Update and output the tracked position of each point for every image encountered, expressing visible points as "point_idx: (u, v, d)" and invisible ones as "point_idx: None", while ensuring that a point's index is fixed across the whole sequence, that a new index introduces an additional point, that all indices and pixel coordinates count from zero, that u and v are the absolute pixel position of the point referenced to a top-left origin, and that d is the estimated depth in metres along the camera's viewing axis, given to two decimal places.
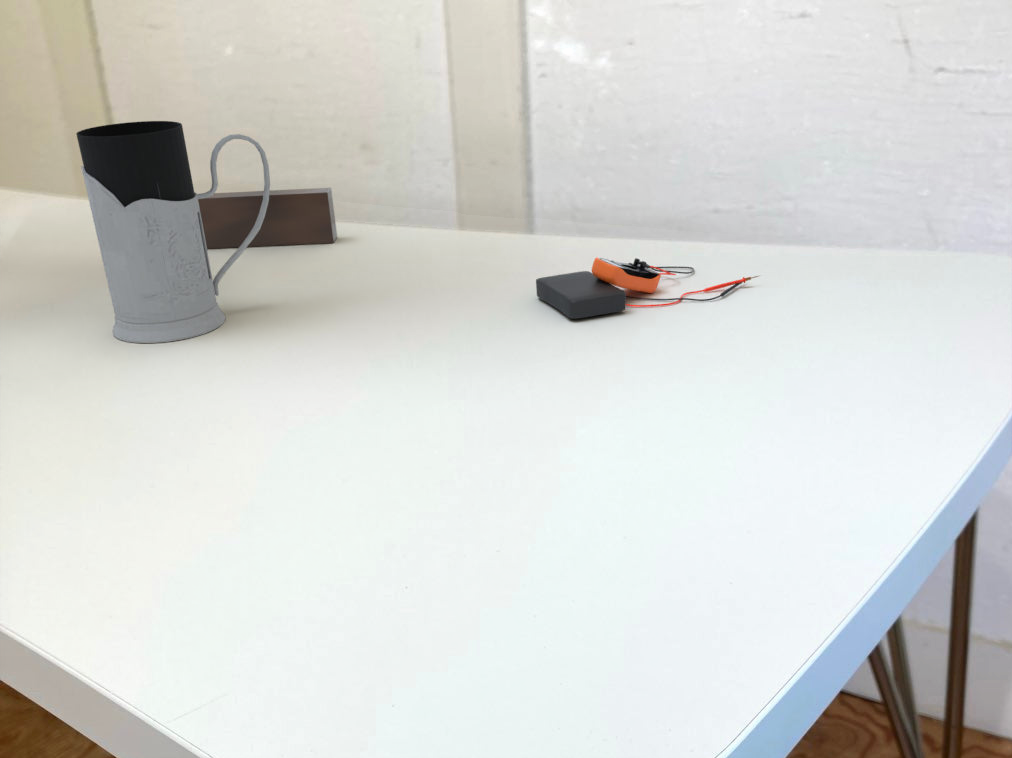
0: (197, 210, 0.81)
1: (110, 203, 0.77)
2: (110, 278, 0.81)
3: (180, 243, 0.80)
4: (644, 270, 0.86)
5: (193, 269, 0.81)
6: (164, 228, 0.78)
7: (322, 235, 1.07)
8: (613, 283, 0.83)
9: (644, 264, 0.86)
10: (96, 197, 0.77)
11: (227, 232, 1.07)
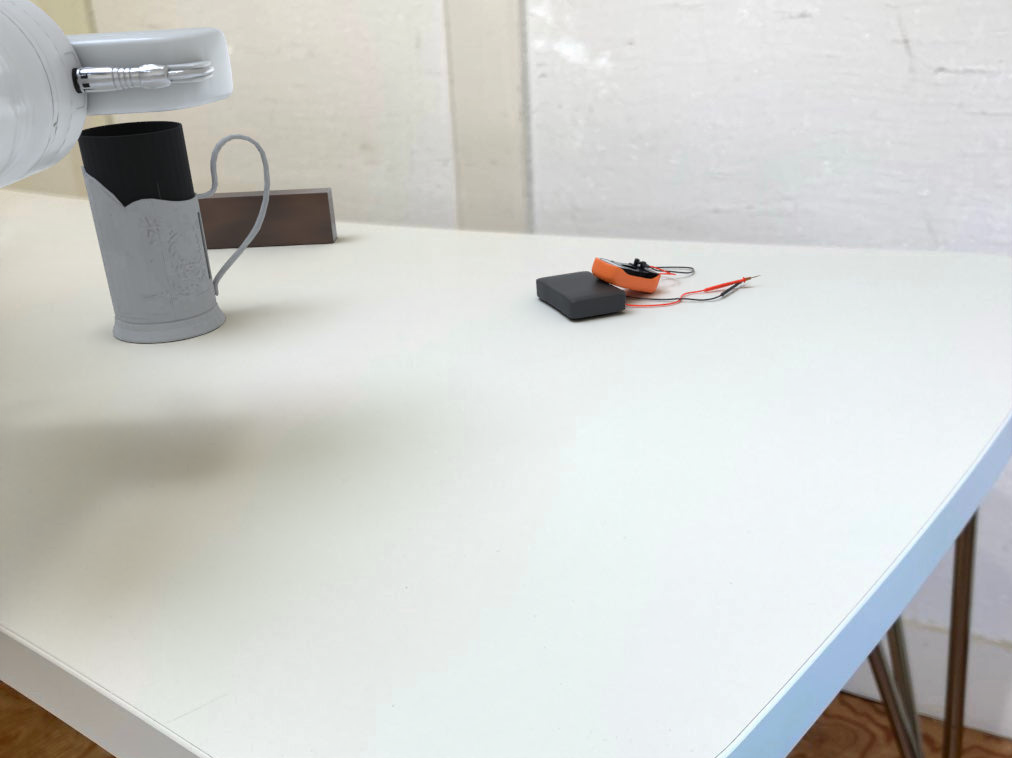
0: (197, 210, 0.81)
1: (110, 203, 0.77)
2: (110, 278, 0.81)
3: (180, 243, 0.80)
4: (644, 270, 0.86)
5: (193, 269, 0.81)
6: (164, 228, 0.78)
7: (322, 235, 1.07)
8: (613, 283, 0.83)
9: (644, 264, 0.86)
10: (96, 197, 0.77)
11: (227, 232, 1.07)
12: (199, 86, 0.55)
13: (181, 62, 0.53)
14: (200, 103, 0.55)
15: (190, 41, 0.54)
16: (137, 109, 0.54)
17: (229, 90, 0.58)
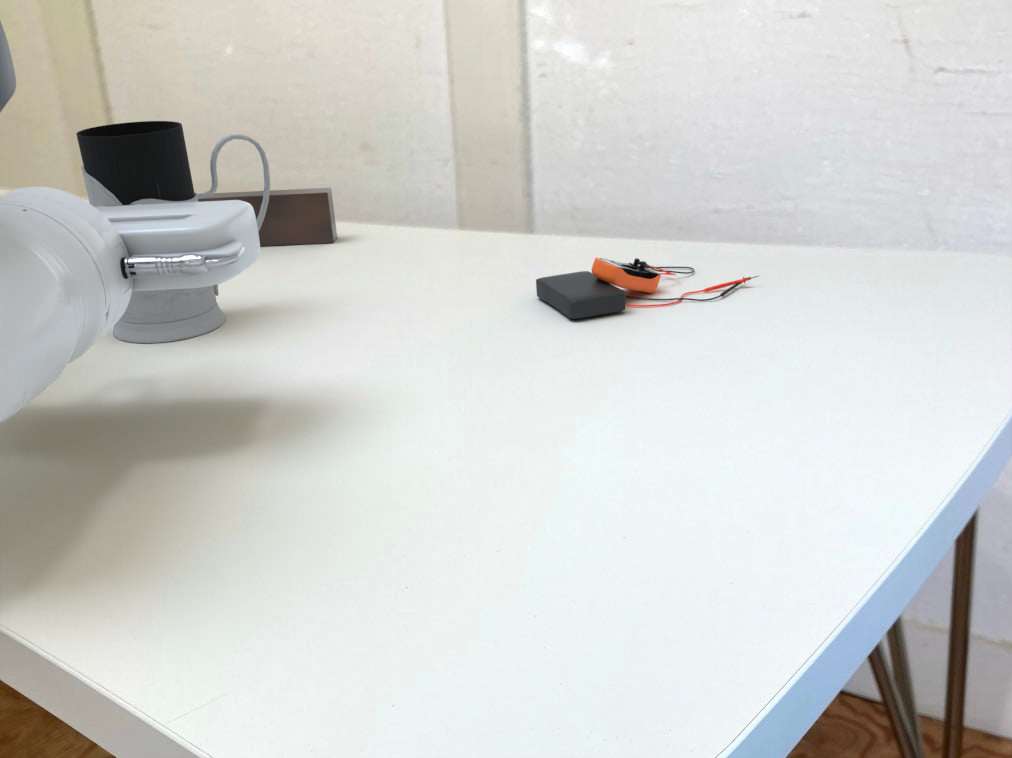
0: None
1: (110, 203, 0.77)
2: None
3: None
4: (644, 270, 0.86)
5: None
6: None
7: (322, 235, 1.07)
8: (613, 283, 0.83)
9: (644, 264, 0.86)
10: (96, 197, 0.77)
11: None
12: None
13: (216, 247, 0.60)
14: (232, 277, 0.62)
15: (224, 227, 0.60)
16: (176, 287, 0.60)
17: (257, 255, 0.65)
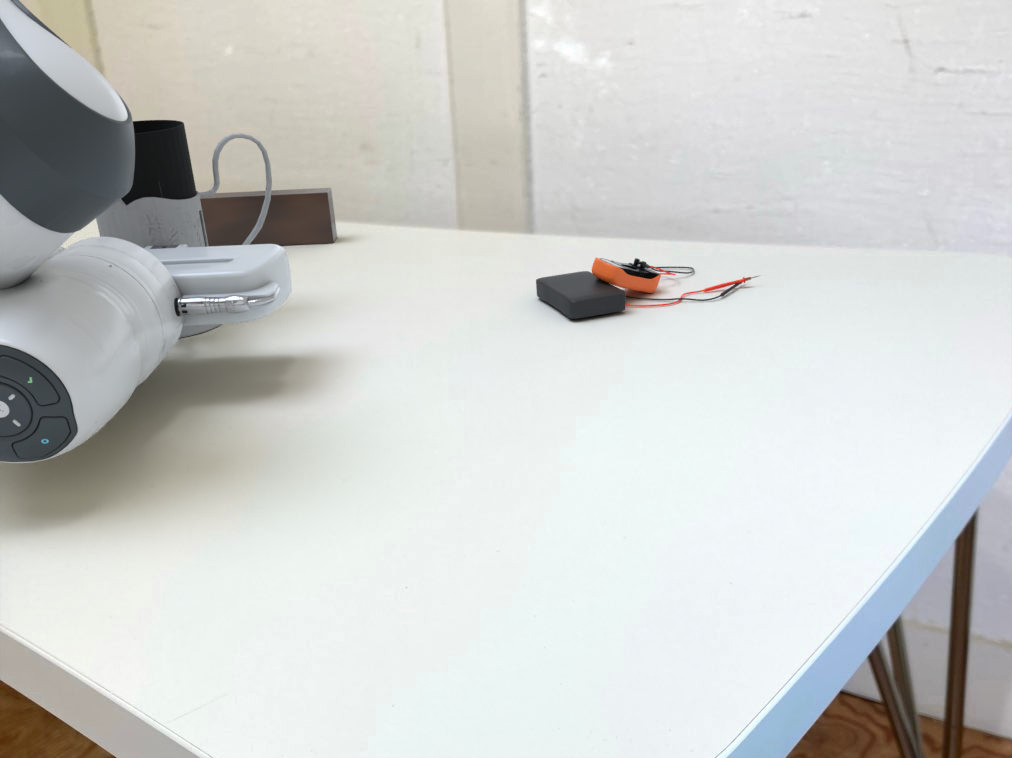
0: (199, 208, 0.81)
1: None
2: None
3: (181, 241, 0.80)
4: (644, 270, 0.86)
5: None
6: (165, 226, 0.79)
7: (322, 235, 1.07)
8: (613, 283, 0.83)
9: (644, 264, 0.86)
10: None
11: (227, 232, 1.07)
12: None
13: (256, 288, 0.69)
14: (269, 313, 0.71)
15: (262, 270, 0.69)
16: (221, 323, 0.69)
17: (289, 293, 0.74)
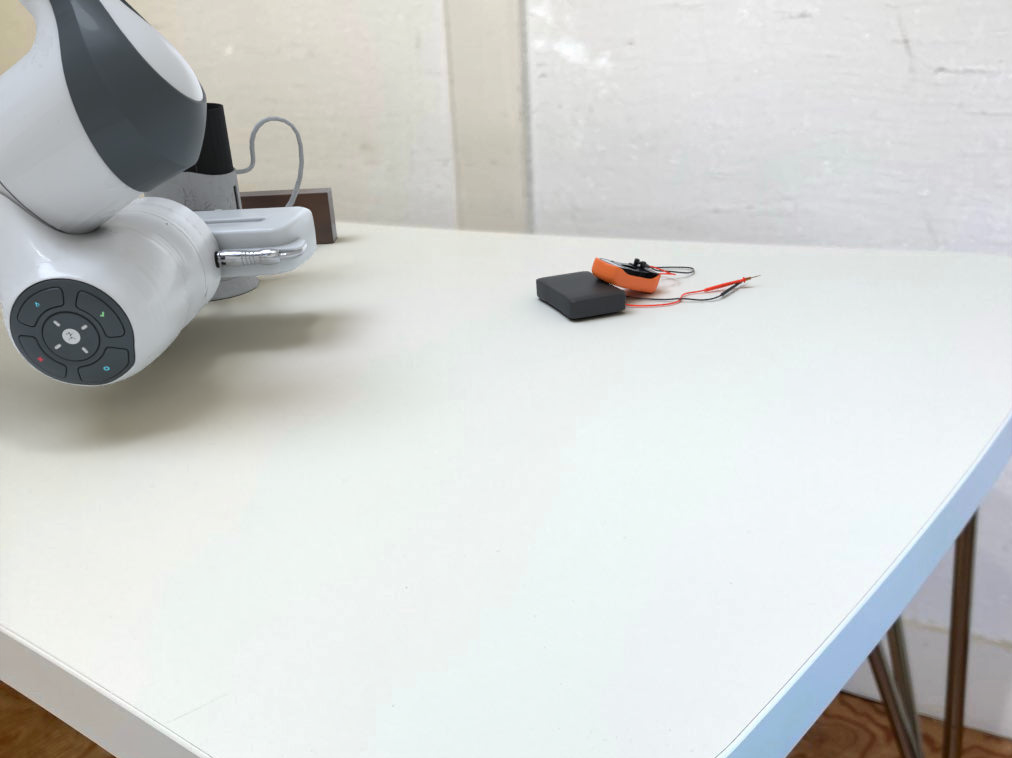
0: (233, 184, 0.90)
1: None
2: None
3: None
4: (644, 270, 0.86)
5: None
6: (199, 199, 0.88)
7: (322, 235, 1.07)
8: (613, 283, 0.83)
9: (644, 264, 0.86)
10: None
11: None
12: None
13: (286, 243, 0.77)
14: (297, 267, 0.79)
15: (292, 228, 0.78)
16: (255, 274, 0.78)
17: (314, 250, 0.83)
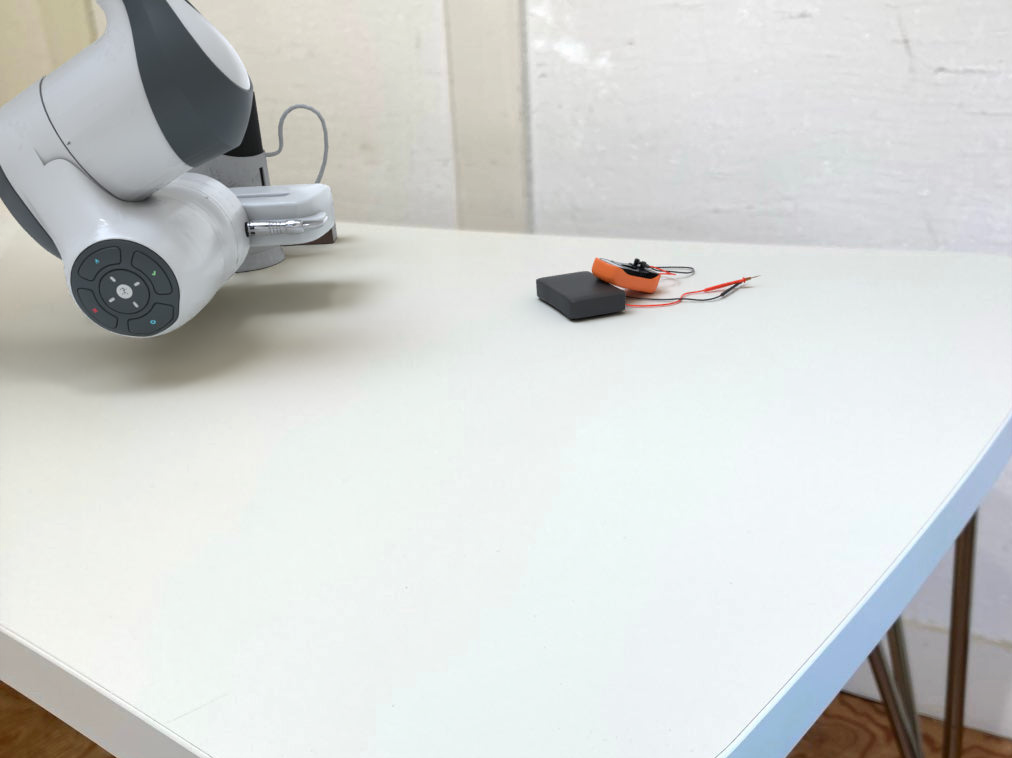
0: (259, 166, 0.97)
1: None
2: None
3: None
4: (644, 270, 0.86)
5: None
6: (225, 178, 0.95)
7: None
8: (613, 283, 0.83)
9: (644, 264, 0.86)
10: None
11: None
12: None
13: (309, 215, 0.85)
14: (318, 237, 0.87)
15: (314, 201, 0.86)
16: (280, 244, 0.86)
17: (333, 223, 0.91)
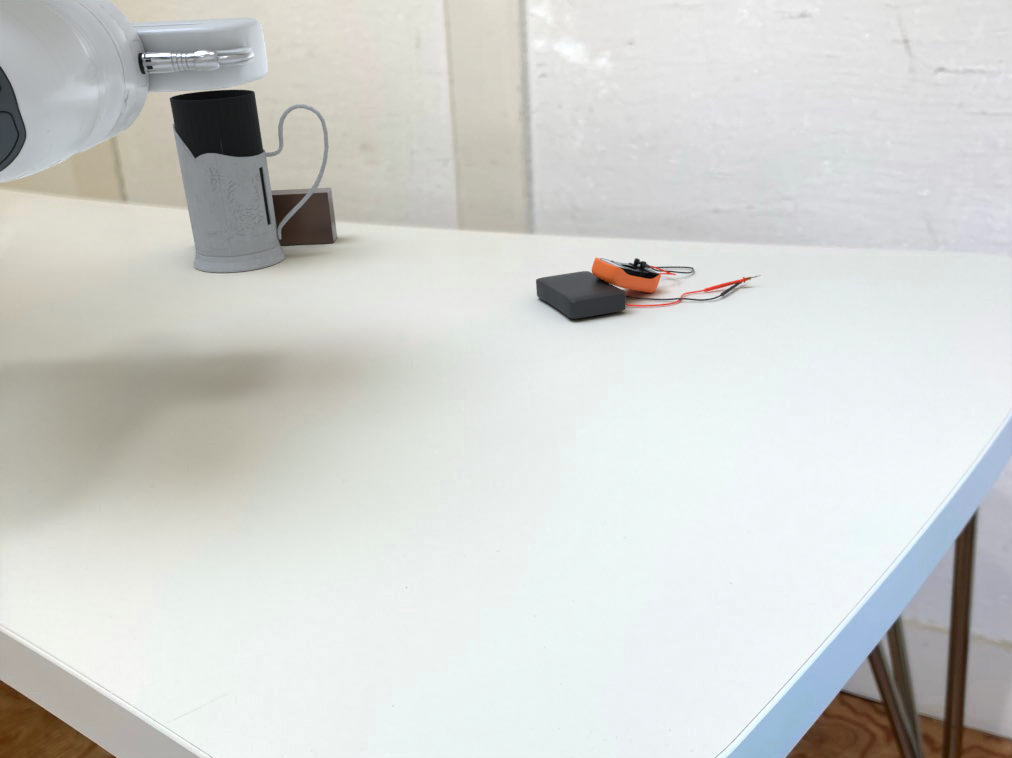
0: (259, 166, 0.97)
1: (186, 154, 0.95)
2: (189, 216, 0.99)
3: (238, 192, 0.96)
4: (644, 270, 0.86)
5: (250, 215, 0.98)
6: (224, 178, 0.95)
7: (322, 235, 1.07)
8: (613, 283, 0.83)
9: (644, 264, 0.86)
10: (178, 149, 0.96)
11: None
12: (241, 69, 0.65)
13: (227, 48, 0.64)
14: (242, 83, 0.66)
15: (234, 30, 0.64)
16: (190, 88, 0.64)
17: (265, 71, 0.69)
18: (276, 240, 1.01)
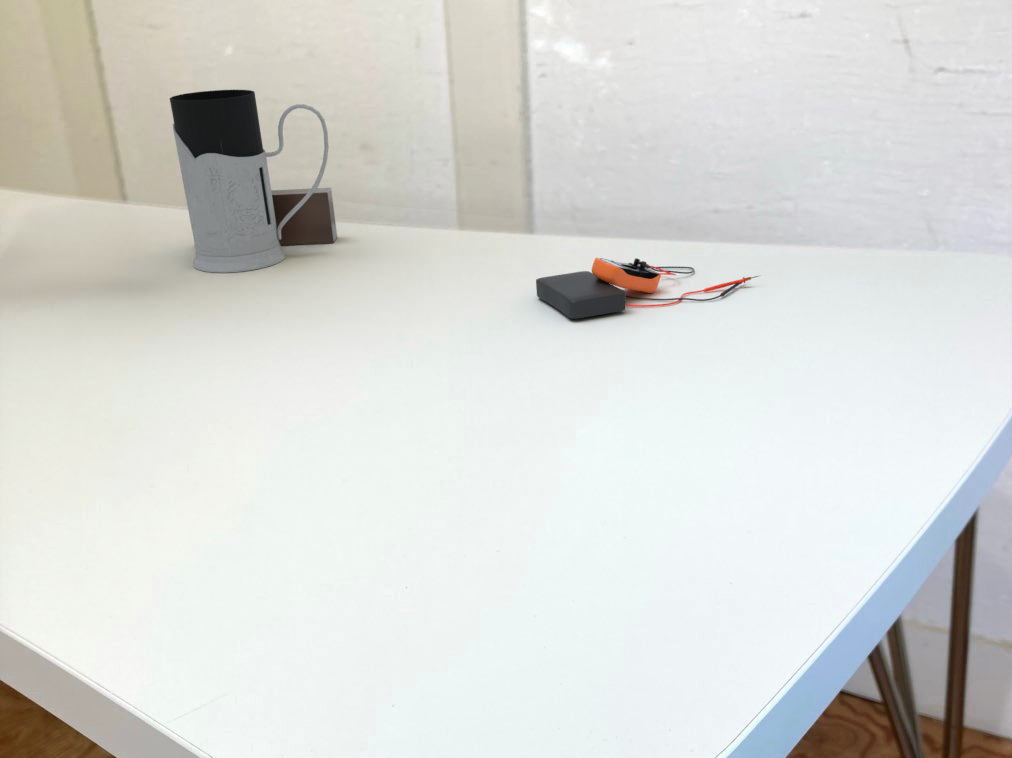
0: (259, 166, 0.97)
1: (186, 154, 0.95)
2: (189, 216, 0.99)
3: (238, 192, 0.96)
4: (644, 270, 0.86)
5: (250, 215, 0.98)
6: (224, 178, 0.95)
7: (322, 235, 1.07)
8: (613, 283, 0.83)
9: (644, 264, 0.86)
10: (178, 149, 0.96)
11: None
12: None
13: None
14: None
15: None
16: None
17: None
18: (276, 240, 1.01)
